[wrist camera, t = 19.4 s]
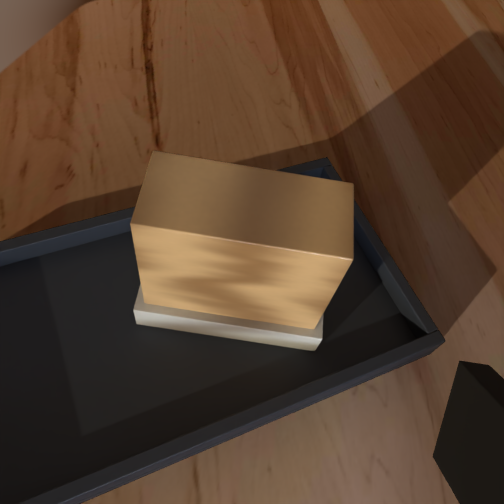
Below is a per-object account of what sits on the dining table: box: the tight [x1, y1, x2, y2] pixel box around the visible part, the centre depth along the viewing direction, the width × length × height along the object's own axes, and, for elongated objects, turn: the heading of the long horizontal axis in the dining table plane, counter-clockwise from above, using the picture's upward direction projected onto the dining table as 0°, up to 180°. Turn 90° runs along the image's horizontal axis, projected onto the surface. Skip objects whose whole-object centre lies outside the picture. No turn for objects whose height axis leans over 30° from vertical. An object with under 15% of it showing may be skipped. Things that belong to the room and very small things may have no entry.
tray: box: [0, 157, 445, 504], centre depth 30 cm, size 16×28×2 cm, turn 113°
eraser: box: [130, 151, 354, 351], centre depth 27 cm, size 11×6×10 cm, turn 83°
